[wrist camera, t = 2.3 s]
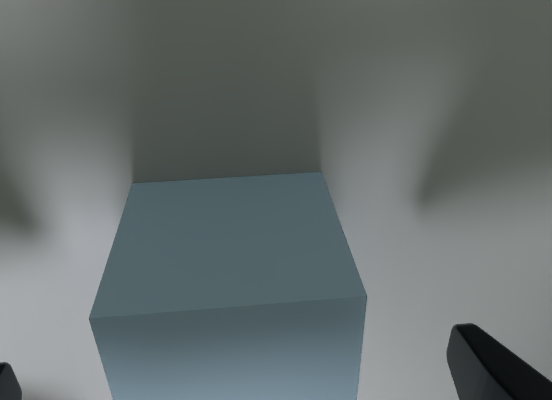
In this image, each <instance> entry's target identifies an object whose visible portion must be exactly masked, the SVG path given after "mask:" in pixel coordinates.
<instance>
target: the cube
mask: <svg viewBox="0 0 552 400" xmlns="http://www.w3.org/2000/svg"><path fill="white" fill-rule="evenodd" d="M366 302H367V294H366V292H365V289H364V286H363V284H362V281H361V278H360V276H359V273H358V270H357V267H356V265H355V262H354V259H353V257H352V254H351V251H350V248H349V246H348V243H347V240H346V238H345V235H344V232H343V230H342V227H341V224H340V221H339V219H338V216H337V213H336V211H335V208H334V205H333V202H332V200H331V197H330V194H329V192H328V189H327V186H326V183H325V181H324V178H323V175H322V173H321V172H309V173H293V174H276V175H260V176H243V177H227V178H211V179H194V180H178V181H161V182H145V183H132V186H131V189H130V193H129V196H128V199H127V202H126V205H125V208H124V211H123V214H122V217H121V220H120V224H119V227H118V230H117V233H116V236H115V239H114V242H113V245H112V248H111V251H110V254H109V258H108V261H107V264H106V267H105V270H104V273H103V276H102V279H101V282H100V285H99V289H98V292H97V295H96V298H95V301H94V304H93V307H92V310H91V313H90V316H89V321H90V324H91V327H92V331H93V334H94V337H95V341H96V344H97V347H98V351H99V354H100V357H101V361H102V364H103V367H104V371H105V374H106V377H107V381H108V384H109V387H110V391H111V394H112V397H113V400H357V391H358V381H359V371H360V361H361V351H362V341H363V331H364V322H365V312H366Z"/></svg>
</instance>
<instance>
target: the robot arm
mask: <svg viewBox="0 0 552 400" xmlns="http://www.w3.org/2000/svg"><path fill="white" fill-rule="evenodd" d="M447 362H448V365H449V368H450V371H451V375H452V378H453V381H454V384H455V387H456V390H457V394H458V397H459V400H552V382H551V381H550V380H549V379H547V378H546V377H545V376H543V375H542V374H541V373H539V372H538V371H537V370H535V369H534V368H533V367H531V366H530V365H529V364H527V363H526V362H525V361H523V360H522V359H521V358H519V357H518V356H517V355H515V354H514V353H513V352H511V351H510V350H509V349H507V348H506V347H505V346H503V345H502V344H501V343H499V342H498V341H497V340H496V339H494V338H493V337H492V336H490V335H489V334H488V333H486V332H485V331H484V330H482V329H481V328H480V327H478V326H477V325H475V324H472V323H466V324H456V325H454V326H453V328H452V330H451V335H450V339H449V343H448V348H447ZM0 400H22V391H21V387H20V385H19V383H18V381H17V378H16V376H15V374H14V372H13V369H12V367H11V365H10V364H8V363H6V362H2V363H0Z"/></svg>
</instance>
